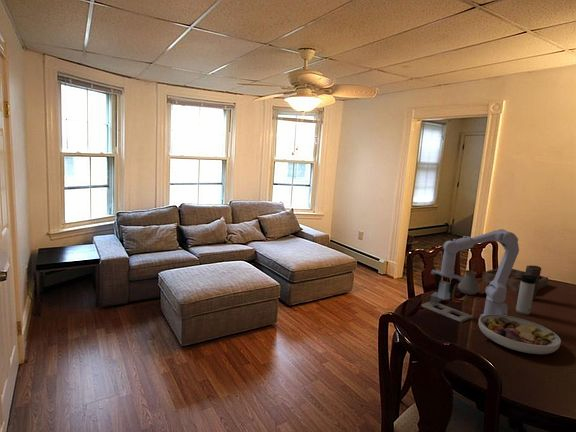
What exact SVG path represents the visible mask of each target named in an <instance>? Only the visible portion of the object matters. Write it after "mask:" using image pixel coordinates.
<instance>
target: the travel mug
mask: <svg viewBox="0 0 576 432" xmlns="http://www.w3.org/2000/svg"><path fill="white" fill-rule="evenodd" d="M536 278H537V277H536V276H530V275H523V276H522V278H521V280H520V281H521V283H520V288H519V292H518V293H517V294H518V296H517V300H516V301H517V302H516V307H515V312H516V313H517V314H520V315H523V316H524V315H525V316H529V315H531V309H532V305H533V304H532V303H533V300H532V299H533V294H534V288H535V282H536Z"/></svg>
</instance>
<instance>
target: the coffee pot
mask: <svg viewBox="0 0 576 432" xmlns="http://www.w3.org/2000/svg"><path fill="white" fill-rule="evenodd" d="M476 267H477V264H476V263H474V264H472V267H471V270H468V269H467V270H464V273H465V274H464V275H463V276H462V277H463V280H462V281H459V283H458V285H457V289H458V290H459V291H460V292H461V294H464V295H469V296H475V295H476V294H478V293H479V292H480V288H479V285H478V282H477V279H476V276H477V275H478V273H477V272H476V271H475V269H476Z"/></svg>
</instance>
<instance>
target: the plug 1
mask: <svg viewBox="0 0 576 432" xmlns="http://www.w3.org/2000/svg"><path fill="white" fill-rule="evenodd" d="M442 300H443V299H441V298H439V297H438V291H434V292H433V293H431V294H430V298H429V302H430V301H434V302H437V303H440V302H442Z"/></svg>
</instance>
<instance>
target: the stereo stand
mask: <svg viewBox="0 0 576 432" xmlns="http://www.w3.org/2000/svg"><path fill="white" fill-rule="evenodd" d="M498 268H499V267H497V268H494V269H493V268H492V269H490V270H486V271H483V272H482V276H481V277H482V278H481V282H484V283H488V284H490V282H491V281H493V280H494V278H495V275H496V273H497V270H498ZM523 275H525V271H523V270H520V269H516V268H512V270H511V272H510V275H509V277H508V280H507V282H506V289H507V290H511V291H514V292H518V293H519V288H520V283H521V282H520V281H521V280H517V279H515V278H521V277H522V276H523ZM541 276H542V277H541V279H539V283H538V288H537V291H539V290H541V289H543V288H546V287H547V286H548V281H549V277H548V276H547V277H546V276H543V275H541ZM510 277H511V278H510ZM512 278H514V279H512Z"/></svg>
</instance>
